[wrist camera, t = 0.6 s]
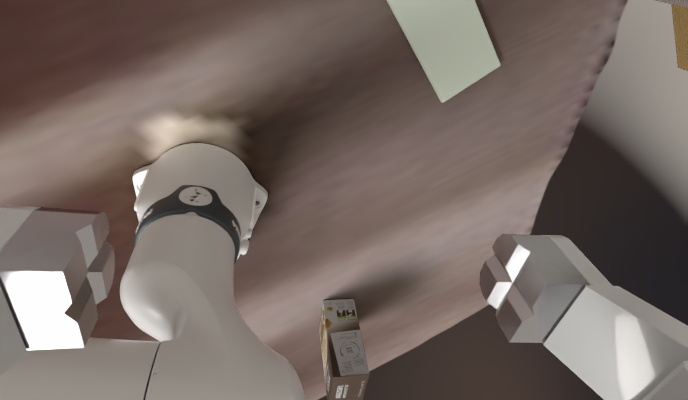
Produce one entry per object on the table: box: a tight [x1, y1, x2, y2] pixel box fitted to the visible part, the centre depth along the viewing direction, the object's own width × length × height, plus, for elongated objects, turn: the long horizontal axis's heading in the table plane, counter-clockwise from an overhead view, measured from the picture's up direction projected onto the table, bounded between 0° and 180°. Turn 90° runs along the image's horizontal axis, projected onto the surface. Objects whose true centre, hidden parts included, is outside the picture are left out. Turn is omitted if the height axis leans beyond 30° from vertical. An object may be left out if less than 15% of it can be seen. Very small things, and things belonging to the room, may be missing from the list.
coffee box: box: [319, 299, 370, 400], centre depth 74 cm, size 9×6×16 cm
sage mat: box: [387, 0, 501, 103], centre depth 50 cm, size 22×9×1 cm, turn 33°
